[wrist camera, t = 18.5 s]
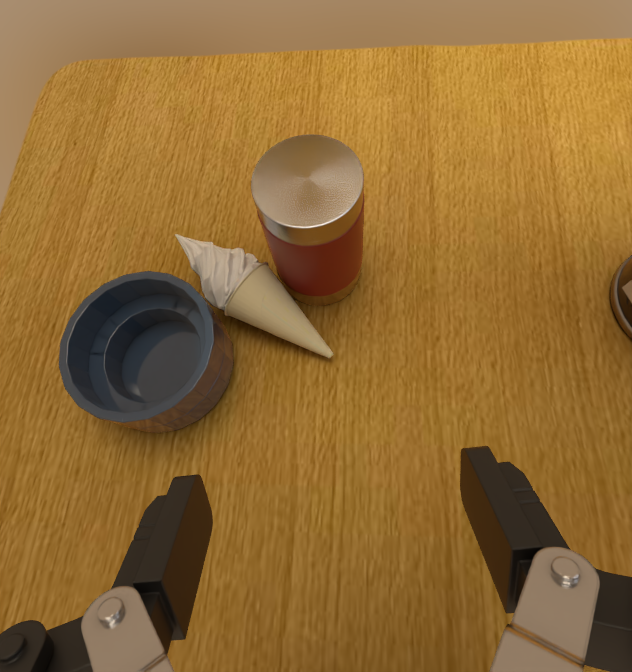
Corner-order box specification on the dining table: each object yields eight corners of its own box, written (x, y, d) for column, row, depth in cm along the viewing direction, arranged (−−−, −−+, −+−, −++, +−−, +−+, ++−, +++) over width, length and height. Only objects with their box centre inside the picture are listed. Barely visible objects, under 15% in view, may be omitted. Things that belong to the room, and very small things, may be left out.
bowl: (206, 282, 37) (182, 248, 32) (255, 394, 33) (237, 376, 28) (87, 337, 36) (43, 310, 31) (124, 457, 33) (81, 450, 27)
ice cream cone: (335, 350, 37) (193, 239, 37) (361, 318, 33) (201, 193, 33) (302, 393, 34) (149, 271, 34) (326, 363, 30) (151, 225, 30)
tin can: (339, 220, 38) (333, 117, 28) (376, 284, 36) (385, 198, 25) (266, 253, 37) (232, 161, 27) (300, 320, 35) (277, 247, 25)
